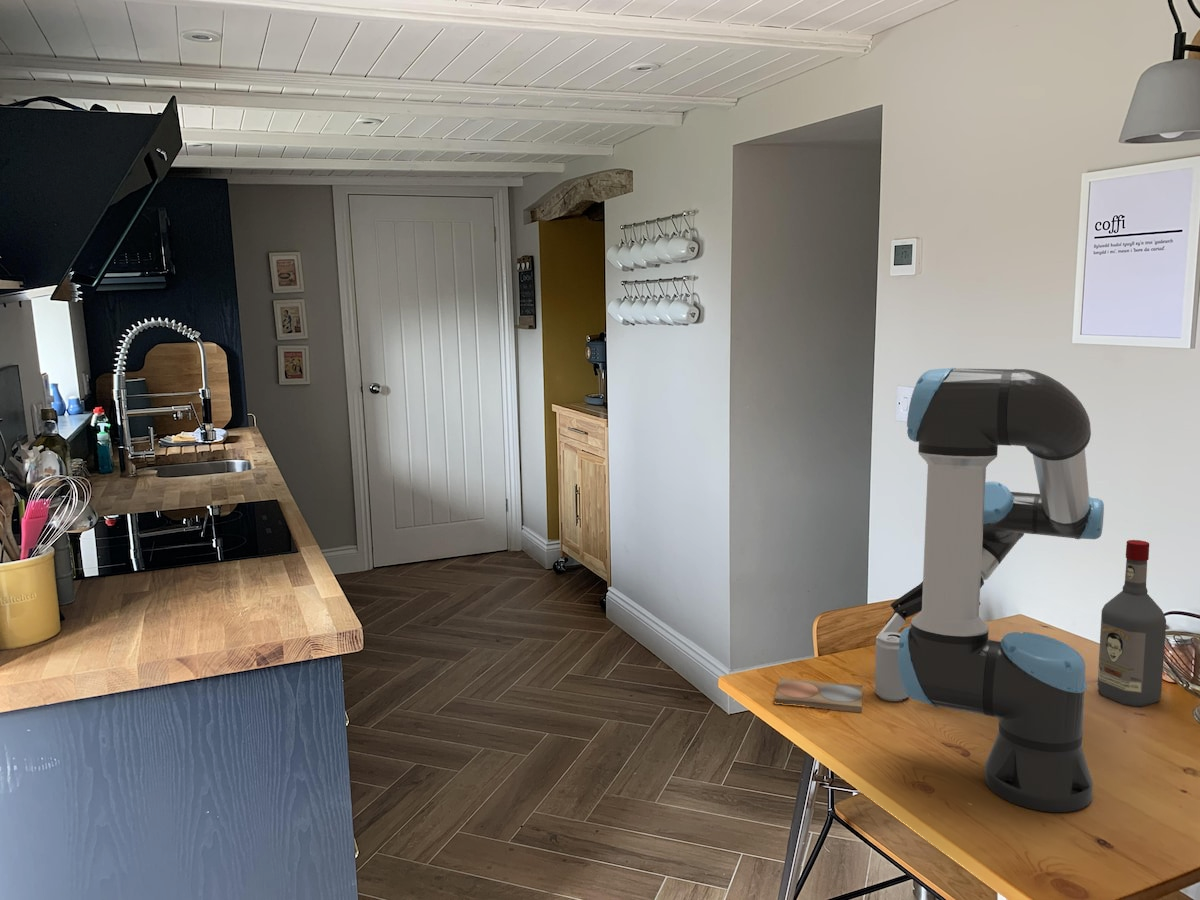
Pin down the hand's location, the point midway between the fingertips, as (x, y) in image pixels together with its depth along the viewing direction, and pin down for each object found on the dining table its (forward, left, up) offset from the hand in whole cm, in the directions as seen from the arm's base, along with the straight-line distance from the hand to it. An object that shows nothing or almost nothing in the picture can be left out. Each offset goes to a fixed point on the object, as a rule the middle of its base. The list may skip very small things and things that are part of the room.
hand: (901, 654), depth 177 cm
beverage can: (-2, +2, -8) cm, 8 cm away
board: (-6, +15, -8) cm, 18 cm away
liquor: (+8, -41, -8) cm, 43 cm away
